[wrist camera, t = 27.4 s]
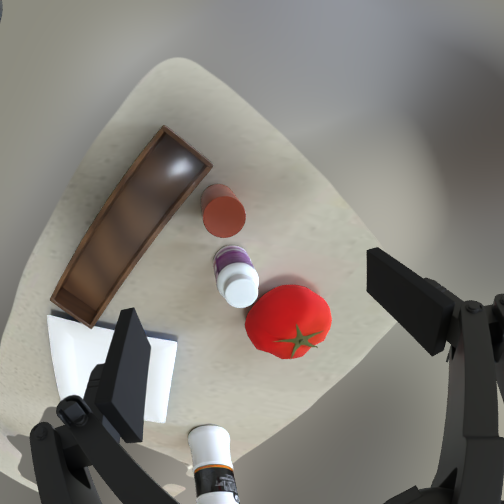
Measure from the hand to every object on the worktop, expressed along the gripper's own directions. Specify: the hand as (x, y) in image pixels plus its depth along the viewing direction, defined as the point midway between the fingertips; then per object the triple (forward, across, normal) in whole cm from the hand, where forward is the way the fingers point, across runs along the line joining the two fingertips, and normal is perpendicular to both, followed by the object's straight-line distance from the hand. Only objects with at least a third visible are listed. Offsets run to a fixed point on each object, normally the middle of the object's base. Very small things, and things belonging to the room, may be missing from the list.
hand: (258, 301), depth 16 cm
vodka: (+27, -14, -49) cm, 58 cm away
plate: (+27, -26, -25) cm, 45 cm away
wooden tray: (+27, -14, -1) cm, 30 cm away
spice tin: (+27, 0, 0) cm, 27 cm away
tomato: (+27, +6, -19) cm, 33 cm away
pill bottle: (+27, 0, -9) cm, 28 cm away
